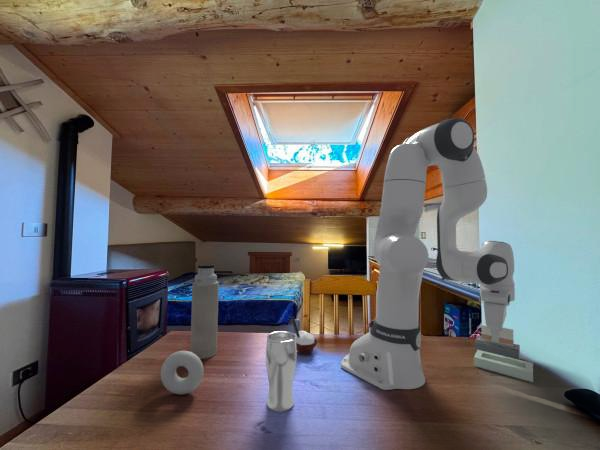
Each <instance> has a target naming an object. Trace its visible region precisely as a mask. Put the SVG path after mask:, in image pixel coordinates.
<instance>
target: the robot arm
mask: <svg viewBox="0 0 600 450" xmlns="http://www.w3.org/2000/svg"><path fill="white" fill-rule="evenodd" d="M431 166H432V167H433V166H436V167H437V168H438V169H439V172H441V173H440V175H441V184H442V191H443V196H442V197H443V198H442V202H441V203H440V204H439V206H438V209H437V212H436V235H437V236H436V238H437V239H436V241H437V245H436V246H437V253H436V258H435V259H436V260H435V268H436V270H437V273H438V274H439V275H440V276H441V278H442V279H443V280H445V281H453V282H454V281H455V282H458V281H459V282H464V283H470V284H477V285H479V291H480V292H479V296H480V300H481V302H483V311H484V321H485V324H486V326H487V328H489V329H491V334H492V341H493V342H497V343H498V342H499V340H500V339H499V333H500V331H501V330H502V328H504V327H503V326H504V323H505V321H506V317H507V306H510V303H511V302H514V301H515V298H516V297H515V294H516V293H515V292H516V291H515V281H514V273H515V258H514V251H513V248H512V246H511V244H509V243H507V242H504V241H498V240H497V241H496V240H486V241H483V242H482V244H481V247H480V248H479V249H477V250H475V251H466V250H465V251H463V250H459V249H458V248H457V225H458V222H459V221H460V220H461V219H462V218H463V217H465V216H467V215H469V214H471V213H473V212H475V211H477V210H478V209H479V208H480V207H481V206H483V204H484V203H485V201H486V200H487V198H488V185H487V180H486V175H485V171H484V170H485V169H484V167H483V164H482V160H481V158H480V155H479V153H478V151H477V150H476V148H475V133H474V129H473V127H472V125H471V124H470V123H469V122H468V121H467V120H465V119H464V118H462V117H452V118H447V119H445V120H442V121H441V122H438V123H435V124H433V125H429V126H427V127H425V128H423V129H421V130H419V131H417V132H416V133H414V134H411V135H410V136H408V137H407V138H406V139H405V140H404V141H403V142H402V143H400V144H399V145H396V146H394V147H393V148H392V150H391V151H390V153H389V155H388V159H387V161H386V166H385V171H384V176H383V186H382V194H381V205H380V211H379V217H378V220H377V221H378V222H377V227H376V232H375V237H374V241H373V243H374V244H373V249H372V252H373V253H372V255H373V258H374V259H375V262H376V263H377V264H378V265H379V274H378V281H377V282H378V283H377V289H376V293H375V298H376V299H375V317H374V319H372V320H370V322H369V323H367V328H368V329H369V331H368V332H367V333H365V334H363V335H362V336H360V337H358V338H357V339H355V340H354V342H352V344H351V346H350V349H349V352H348V354H346V355H345V356H344V357H343V358H342V360H341V363H340V368H342V369H343V370H345V371H347V372H349V373H351V374H352V375H354V376H356V377H358V378H360V379H362V380H364V381H366V382H367V383H369V384H371V385H373V386H374V387H377V388H379V389H381V390H383V391H389V390H397V389H398V390H414V389H418V388H420V387H422V386H424V385H425V383H426V377H425V374H424V370H423V367H422V360H421V353H420V348H421V343H422V340H421V339H422V335H421V334H422V333H421V326H420V324H419V310H420V308H419V302H420V301H419V298H420V291H421V285H422V283H423V277H424V272H425V271H424V270H425V267H426V266H427V264H428V262H429V251H428V249H427V246H426V244H424V242H423V241H422V240H421V239H419V238H418V237H417V236H416V232H417V230H418V226H419V223H420V220H421V218H422V216H423V213H424V205H425V195H426V194H425V193H426V185H427V170H428V167H431Z"/></svg>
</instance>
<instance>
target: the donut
mask: <svg viewBox="0 0 600 450" xmlns="http://www.w3.org/2000/svg"><path fill="white" fill-rule="evenodd" d="M179 367H184V368H185V369H186V370H187V372H188V374H187V375H188V376H186V377H180V376H179V375H178V373H177V368H179ZM204 372H205V370H204V365H203V362H202V360H201V359H200V358H199V357H198V356H197V355H196V354H194V353H192V352H190V351H188V350H179V351H178V350H177V351H175V352H173V353H171V354H170V355H169V356H168V357H167V358H166V359H165V360H164V362H163V364H162V365H161V368H160V380H161V383H162V384H163V387H165V389H166V391H169V392H170V393H172V394H173V395H186V394H189V393H191V392H193V391H195V390H196V389H197V388H198V387H199V385H201V383H202V380H203V378H204Z"/></svg>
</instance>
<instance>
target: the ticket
mask: <svg viewBox="0 0 600 450" xmlns="http://www.w3.org/2000/svg"><path fill="white" fill-rule="evenodd" d="M481 337H482V340H485V341H489V342H493V341H492V334H491V329H489V328H487V326H486V323H481ZM499 339H500V340H499V342H498V344H503V345H507V346H512V347H514V344H515V343H514V341H515V340H514V329H513V328H507V327H502V330H501V331H500V333H499ZM494 343H497V342H494Z"/></svg>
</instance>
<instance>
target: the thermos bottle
mask: <svg viewBox="0 0 600 450" xmlns="http://www.w3.org/2000/svg"><path fill="white" fill-rule="evenodd" d="M197 268H198V269H197V274H196V275H194V279H193V280H194V281H193V282H192V283H191V284H192V286H191V287H192V289H191V313H190V315H191V316H190V317H191V319H190V351H189V352H192V353H194V354H196V355H197V356H198V357H199V358H200V360H201V359H202V360H203V359H204V360H205V359H209V358H211V357H213V356H215V355H217V353H218V326H219V325H218V319H219V318H218V317H219V286H220V285H219V281H218V280H217V278H218V275H217V274H215V269H214V268H215V265H214V264H206V263H205V264H198V265H197Z"/></svg>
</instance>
